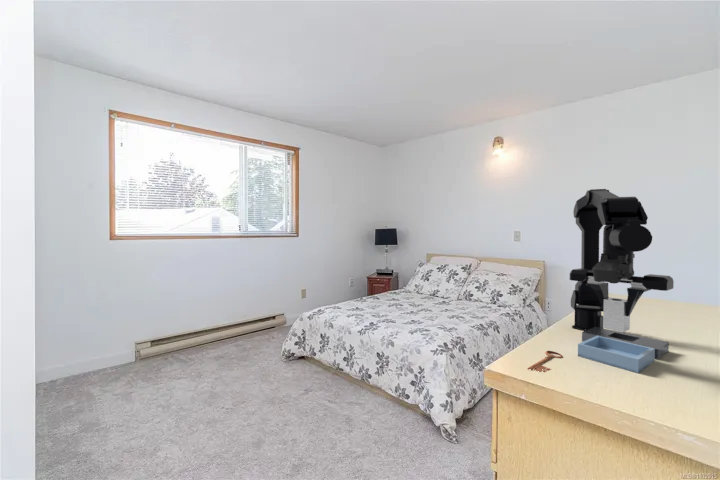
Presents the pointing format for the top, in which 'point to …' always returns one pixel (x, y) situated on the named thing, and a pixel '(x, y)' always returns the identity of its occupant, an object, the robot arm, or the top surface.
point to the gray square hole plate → (629, 339)
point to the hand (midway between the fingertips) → (616, 314)
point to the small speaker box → (615, 315)
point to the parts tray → (617, 353)
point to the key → (545, 361)
